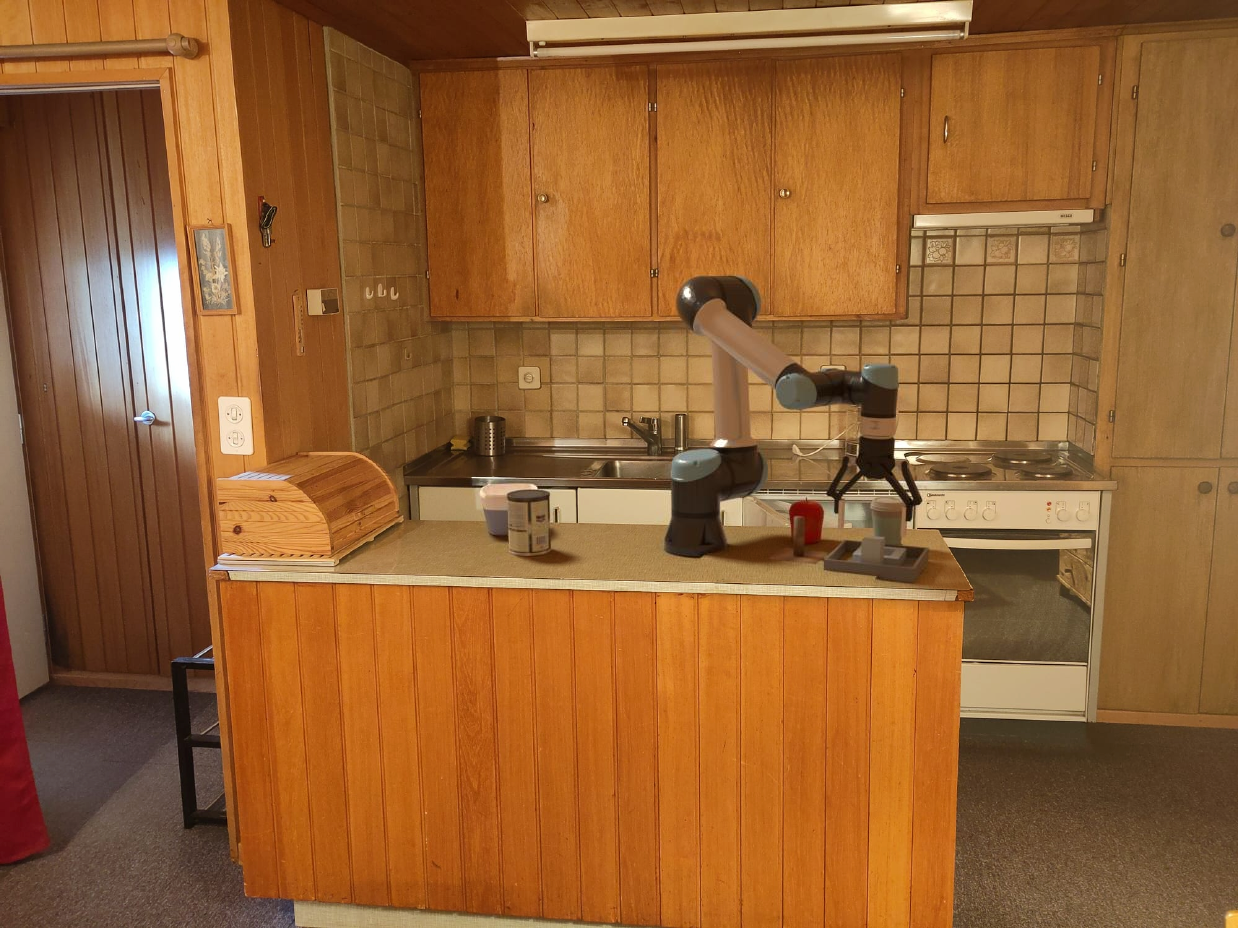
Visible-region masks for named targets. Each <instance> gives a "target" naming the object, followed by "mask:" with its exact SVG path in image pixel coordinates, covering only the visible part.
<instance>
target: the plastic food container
mask: <svg viewBox="0 0 1238 928" xmlns="http://www.w3.org/2000/svg"><path fill="white" fill-rule="evenodd" d="M528 489H536V490H539V489H538V486H536V485H535V484H533V483H502V484H501V483H499V484H486V485H484V486H483V487H482V488H480V491H479V498H480V503H481V507H482V509H483V515H484V518H485V523H486V527H487V531H488V533H489V534H490V535H492V536H505V537H506V536H507V537H509V531H508V503H507V493H509V492H512V491H517V490H528Z"/></svg>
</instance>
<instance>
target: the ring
mask: <svg viewBox="0 0 1238 928" xmlns="http://www.w3.org/2000/svg"><path fill="white" fill-rule="evenodd" d="M861 541H862V545H861V546H860V547H859V548H858V549H857V550H856V551H853V553H852V557H851V558H852V562H861V563H871V564H881V565H890V566H901V565H902V563H903V562H904V561H905V559H906V548H896V547H886V546H885V537H877V536H874V535H865V537H864V538H862V539H861Z"/></svg>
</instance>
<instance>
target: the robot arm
mask: <svg viewBox="0 0 1238 928" xmlns="http://www.w3.org/2000/svg"><path fill="white" fill-rule="evenodd" d="M675 298H676V299H675V308H676V311H677V315H678V317H679V318H680V320H681V321H682V322H683V324H684V325H685V326H686V327H688V328H689V330H691V331H692V332H694V333H695V334H696V335H697V336H700V337H707V338H708V339H710V343H711V344H710V346H711V347H710V348H711V367H712V368H711V369H712V370H711V371H712V384H713V385H712V388H713V407H714V408H713V409H714V411H713V412H714V431H715V438H714V440H713V441H712V442H711V443H710V444H709V449H707V448H701V449H699V448H698V449H695V450H694V449H692V450H691V449H690V450H686V451H683V452H680V453H678V454H676V455H675V456H674V457H673V458H672V461H671V470H670V494H671V495H670V499H671V502H670V503H671V508H670V509H671V511H670V512H671V513H670V514H671V515H670V520H669V524H668V527H667V530H666V533H665V536H664V540H663V549H664V551H665V552H668V553H670V554H673V555H677V556H683V557H705V556H706V555H707V554H709V555H710V554H714V553H719V552H723V551H724V550H726V549H727V548H728V539H727V535H726V533H725V529H724V526H723V523H722V520H721V502H726V501H730V500H735V499H742V498H743V499H745V498H747V497H749V496H752V495H755V494H757V493H759V492H760V491H761V489H763V487H764V486H765V484H766V482H767V479H768V475H769V474H768V473H769V465H768V461H767V459H766V457H764V454H763V452H761V451H760V450H759V449H758V442H757V441H756V440H755V439H754V438H753V437H752V434H751V413H750V412H751V409H750V391H749V371H751V372H752V373H753V374H754V375H756V377H758V378H759V379H761V380H762V381H763V382H764V383H766V384H768V386H769V387H771V388H772V389H773V390H775V397H776V399H777V400H778V401H777V402H778V403H779V404H780V406H781V407H783V408H785V409H786V410H790V411H792V410H793V411H794V410H795V411H796V410H797V411H802V410H808V409H813V408H818V407H819V408H821V407H828V406H836V405H845V406H846V405H847V406H855V407H860V411H859V412H860V414H859V431H858V432H859V434H860V436H859V438H858V449H857V450H858V451H857V452H858V454H857V457H856V456H855V457H854V456H851V455H850V454H846V455H844V456H843V457H842V461H841V467H840V468H839V470H838V472H837V473H836V475H835V477H834V479H833V480H832V482H831V484H830V486H829V487H828V488H827V490H826V493H825V495H826V497H830V498H832V499H833V500H834V502H833V503H834V505H833V512H834V514H835V515H837V517H838V518H837V530H838V531H839V530H840V531H841V530H843V529H844V528H845V512H846V511H845V510H846V498H842V497H844V495H845V494H846V493H847V492H848V491H850V489H851V488H852V487H853V486H854V485H855V484H856V483H857V482H859V480H860V479H861V478H863V477H865V478H866V479H869V480H870V479H872V480H873V479H875V480H878V481H879V480H880V481H881V480H884V479H885V481H886V482H887V483H889V485H890V486H891V488H892V489H893V490H894V492H895V493H896V494H897V495H898V498H901V499H902V501H903V502H904V503H905V505H904V506H903V507H902V521H901V537H902V538H904V537H906V536H907V529H908V522H910V523H911V522H912V520H913V517H914V516H913V515H914V507H915V506H920V505H922V502H923V498H922V495H921V493H920V491H919V489H918V486H917V485H916V482H915V480H914V477H913V475H912V473H911V470H910V461H909V460H908V459H904V460H895V444H896V439H895V437H893V436H895V435H896V431H897V429H896V427H897V405H898V395H899V394H898V393H899V388H900V387H899V386H900V384H899V368H898V366H897V365H895V364H892V363H880V362H869V363H868V362H867V363H865V364H863V366H862V371H861V370H860V371H858V370H857V371H856V370H847V369H842V368H841V369H840V368H836V367H833V368H821V369H818V371H812V372H810V371H809V370H807V369H806V368H805V367H803V366H802V365H801V364H799V363H798V362H797V361H795V360H794V359H792V358H791V357H790V356H789V355H787V353H785V352H783V351H782V350H781V349H779V347H777V346H776V345H774V344H773V343H772V342H770V341H769V340H768V339H766V338H765V337H764V336H762V335H761V334H760V333H759V332H757V331H756V330H754V329H753V322H754V321H755V320H756V319H757V318H758V315H760V313H761V308H762V299H761V294H760V292H759V289H758V288H757V286H756V285H755V284H754V283H753V282H752V281H751V280H750V279H749V278H747V277H744V276H737V275H734V274H733V275H730V274H729V275H698V276H694V277H692V278H690V279H687V281H685V282H684V283H683V284H682V285H681V287H680V288H679V290H678V292H677V295H676V297H675ZM854 464H855V465H856V466H857V468H858V472H856V473H855V474H854V476H852V478H851V479H850V480H849V481H847V482H846V483H845V484H844V486H842V488H840V490H838V491H836V490H837V488H838V487H839V485H840V483H841V481H843V478H844V476H845V475H846V473H847V471H848V470H849V467H851V466H853V465H854ZM896 467H897V469H898V471H900V472H901V473H902V474H901V475H902V477H903V479H904V481H905V484H906V486H907V488H908V491H909V493H910V495H911V496H910V495H909V493H908V492H907V491H906V489H905V488H904V486H903V485H902V484H901V482H900V481H899V480H898V479H897V477H896V475H895V473H893V470H894V469H895V468H896Z"/></svg>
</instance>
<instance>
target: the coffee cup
mask: <svg viewBox="0 0 1238 928" xmlns="http://www.w3.org/2000/svg"><path fill="white" fill-rule="evenodd" d="M904 505H905V503H904V502H903V501H902V499H901V498H900V497H894V496H878V497H873V499H872V502H871V503H870V509H871V518H872V532H873V536H877V537H885V544H895V545H902V538H903V537H901V521H902V507H903V506H904Z"/></svg>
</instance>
